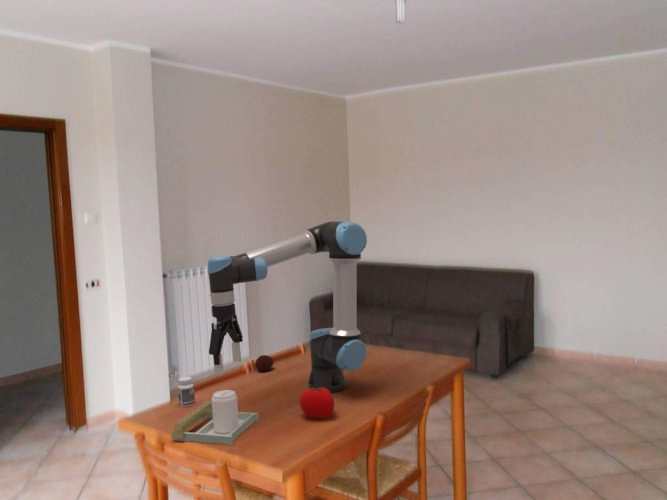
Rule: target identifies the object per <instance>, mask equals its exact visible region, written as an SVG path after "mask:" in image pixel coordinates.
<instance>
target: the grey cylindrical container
mask: <svg viewBox="0 0 667 500" xmlns="http://www.w3.org/2000/svg"><path fill="white" fill-rule="evenodd" d="M211 401H212V413H213V418H212V419H213V428H214V431H215V432H218V433H230V432H231V431H233V430H234V429H235V428H236V427H237V426H238V425H239V420H238V412H239V407H238V395H237V393H236V391H235V390H231V389H224V390H223V389H222V390H219V391H215V392H213V393H212V397H211Z"/></svg>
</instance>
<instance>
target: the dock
mask: <svg viewBox="0 0 667 500" xmlns="http://www.w3.org/2000/svg"><path fill="white" fill-rule="evenodd" d="M202 419H211V420H209V421H208V422H207V423H206V424H205V425H203V426H202V427H200V429H198V430H197V431H196V432H189V431H185V432H184V435H185V438H184V439H179V438H172V432H173V431H174V430H173V431H171V432H170V435H171V436H170V438H171V441H178V442H180V441H181V442H190V441H193V442H192V443H194V441H195V443H202V442H204V443H205V444H214V445H215V444H216V445H217V444H218V445H228V446H229V445H230V446H232V445H234V443H235V442H234V441H235V440H237V438H238V437H240V436H241V435H242V434H243V433H244V431H246V430H247V429H249V427H250V426H252V425H253V424H254V423H255V422H259V412H247V411H246V412H244V411H238V420H239V425H238V426H237V427H236V428H235V429H234V430H233V431H231V432H230V433H218V432H215V431H214V428H213V413H212V411H211V412H210V413H209V414H207V415H206V416H205V417H203V418H202Z"/></svg>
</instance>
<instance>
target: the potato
mask: <svg viewBox="0 0 667 500" xmlns="http://www.w3.org/2000/svg"><path fill="white" fill-rule="evenodd" d="M273 366H274V359H273V358H272V357H271V356H269V355H266V354H265V355H264V354H263V355H260V356H258V357H257V359H256V360H255V368H256V369H257V371H259V372H266V371H269V370H270V369H272V367H273Z"/></svg>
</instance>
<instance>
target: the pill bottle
mask: <svg viewBox="0 0 667 500" xmlns="http://www.w3.org/2000/svg"><path fill="white" fill-rule="evenodd" d="M192 379H193V378H192V377H191V376H182V377H179V378H178V383H179V384H178V386H177V394H178V405H179V407H180V408H190V407H192V406H194V405H195V404H196V399H195V385H194V384H193V380H192Z"/></svg>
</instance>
